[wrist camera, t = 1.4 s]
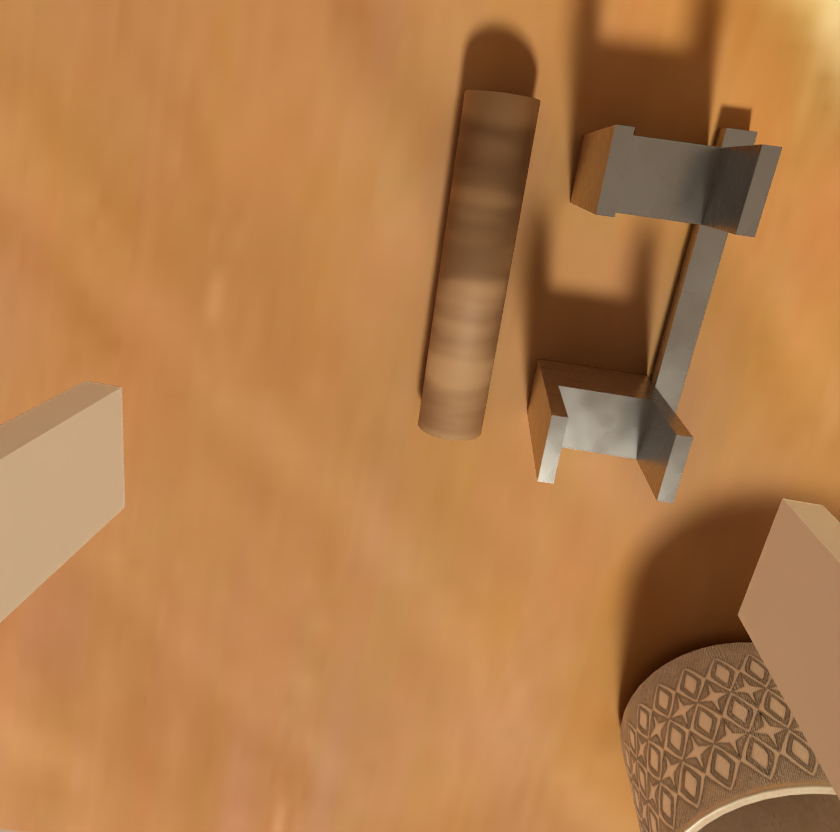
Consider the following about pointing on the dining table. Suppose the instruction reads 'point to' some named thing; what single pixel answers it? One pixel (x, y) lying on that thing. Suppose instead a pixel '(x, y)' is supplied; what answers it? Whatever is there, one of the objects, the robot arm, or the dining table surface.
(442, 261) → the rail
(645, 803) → the planter
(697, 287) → the bracket
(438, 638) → the dining table surface
